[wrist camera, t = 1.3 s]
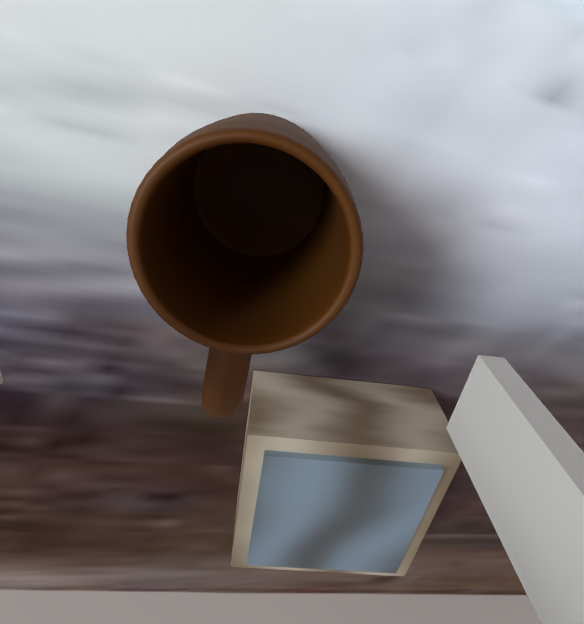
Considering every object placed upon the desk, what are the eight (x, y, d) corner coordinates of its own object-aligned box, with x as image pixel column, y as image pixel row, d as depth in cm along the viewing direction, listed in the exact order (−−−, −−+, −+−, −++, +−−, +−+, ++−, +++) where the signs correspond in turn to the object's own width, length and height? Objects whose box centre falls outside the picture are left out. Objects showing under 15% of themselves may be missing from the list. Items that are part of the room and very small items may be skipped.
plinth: (238, 493, 31) (229, 573, 26) (253, 370, 26) (247, 440, 21) (385, 503, 33) (406, 582, 27) (430, 388, 27) (467, 459, 22)
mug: (296, 338, 25) (305, 458, 17) (172, 317, 24) (116, 434, 16) (350, 131, 19) (404, 158, 11) (192, 93, 18) (121, 91, 10)
